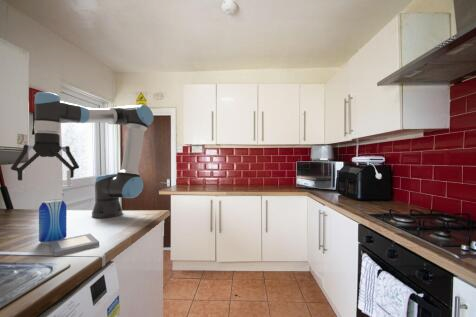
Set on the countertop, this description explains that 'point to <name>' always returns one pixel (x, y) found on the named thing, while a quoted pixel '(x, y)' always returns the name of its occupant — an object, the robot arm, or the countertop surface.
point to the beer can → (52, 221)
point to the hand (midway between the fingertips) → (47, 187)
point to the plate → (73, 244)
